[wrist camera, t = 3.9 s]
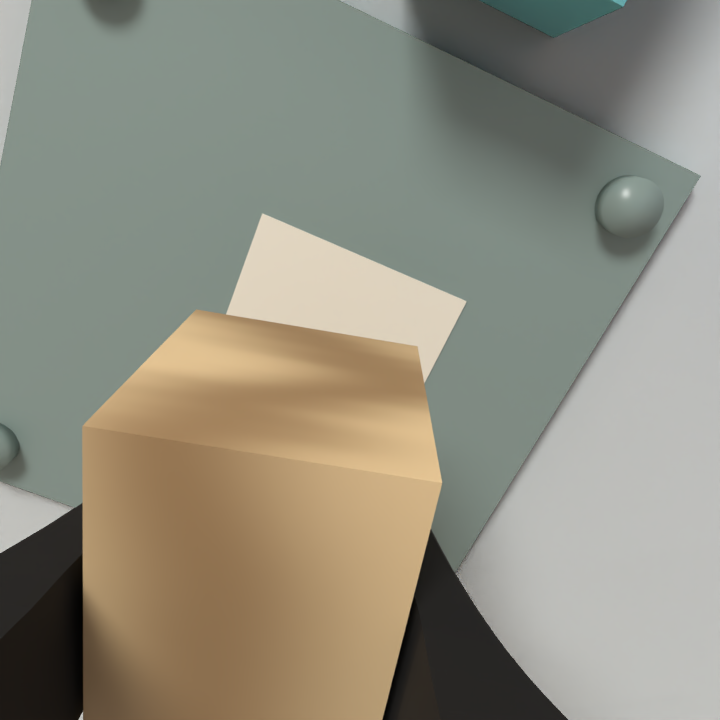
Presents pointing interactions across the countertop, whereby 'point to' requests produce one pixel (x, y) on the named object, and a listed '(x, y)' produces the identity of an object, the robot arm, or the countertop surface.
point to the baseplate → (304, 221)
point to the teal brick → (555, 12)
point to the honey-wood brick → (254, 525)
